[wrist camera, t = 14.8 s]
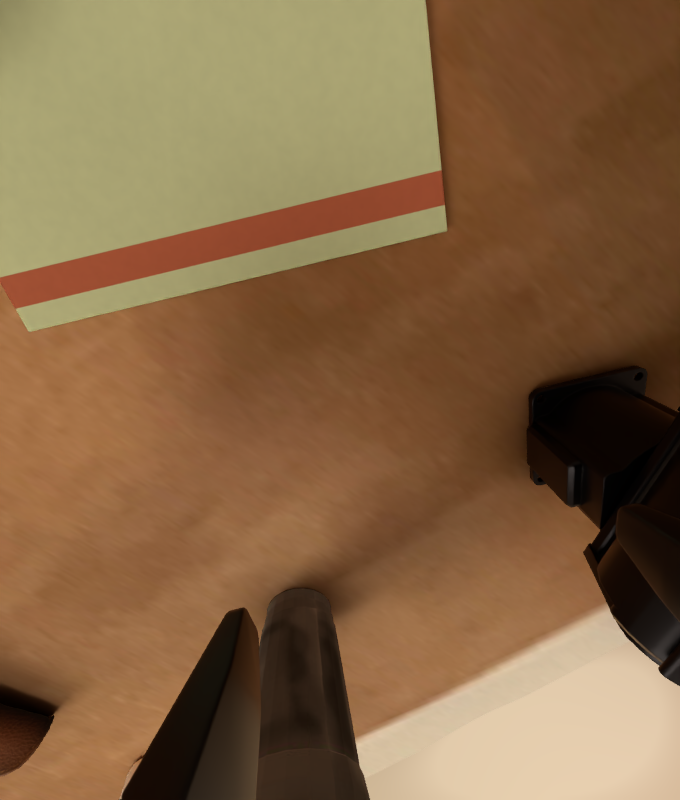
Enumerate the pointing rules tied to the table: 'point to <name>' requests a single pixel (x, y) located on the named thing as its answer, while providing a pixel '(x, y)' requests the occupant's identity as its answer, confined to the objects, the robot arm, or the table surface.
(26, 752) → the sunglasses case
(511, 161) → the table surface
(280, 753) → the beverage cup
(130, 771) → the spray bottle
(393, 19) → the cloth
